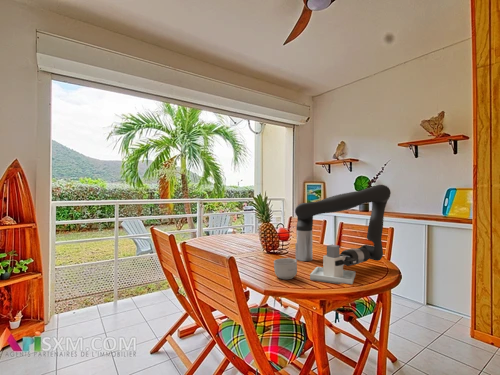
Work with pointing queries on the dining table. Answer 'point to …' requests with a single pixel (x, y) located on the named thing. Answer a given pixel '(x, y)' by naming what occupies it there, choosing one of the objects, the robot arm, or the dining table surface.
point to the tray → (318, 276)
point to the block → (333, 251)
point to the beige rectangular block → (332, 267)
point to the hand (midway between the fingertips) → (329, 261)
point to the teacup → (285, 268)
